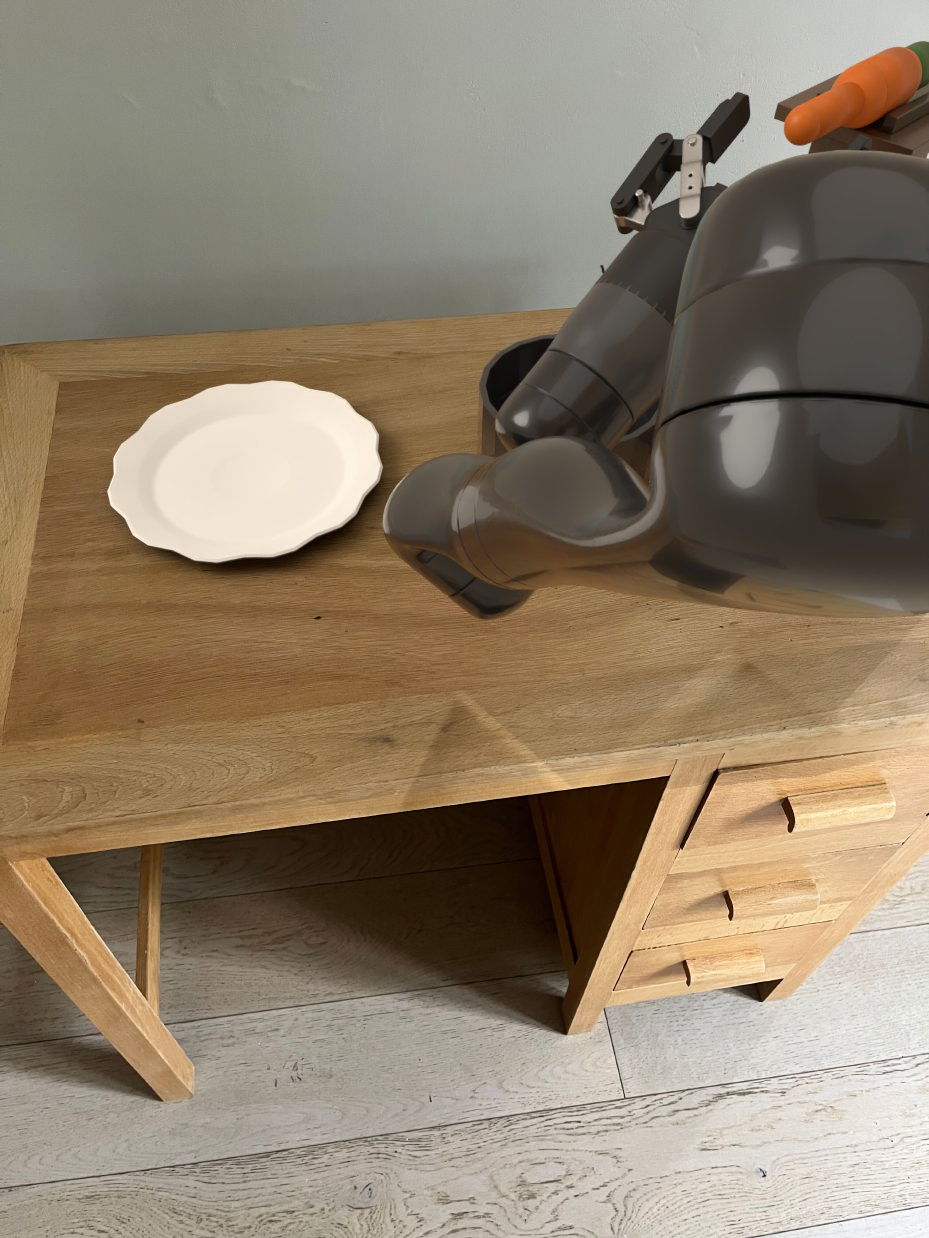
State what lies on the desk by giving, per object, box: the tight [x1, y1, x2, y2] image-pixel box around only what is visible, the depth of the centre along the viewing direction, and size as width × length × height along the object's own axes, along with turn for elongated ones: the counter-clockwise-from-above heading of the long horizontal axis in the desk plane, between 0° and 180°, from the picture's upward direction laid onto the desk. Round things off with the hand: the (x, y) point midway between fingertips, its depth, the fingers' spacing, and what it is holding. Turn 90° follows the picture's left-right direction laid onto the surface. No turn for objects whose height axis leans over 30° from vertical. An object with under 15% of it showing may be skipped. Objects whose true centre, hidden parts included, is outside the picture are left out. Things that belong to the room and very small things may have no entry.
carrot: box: [783, 40, 929, 147], centre depth 55 cm, size 4×16×4 cm, turn 134°
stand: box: [773, 71, 929, 158], centre depth 70 cm, size 11×11×33 cm
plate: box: [106, 380, 384, 565], centre depth 81 cm, size 25×25×2 cm
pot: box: [476, 333, 660, 486], centre depth 78 cm, size 16×16×10 cm
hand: (803, 124), depth 52 cm, fingers open, 8 cm apart
